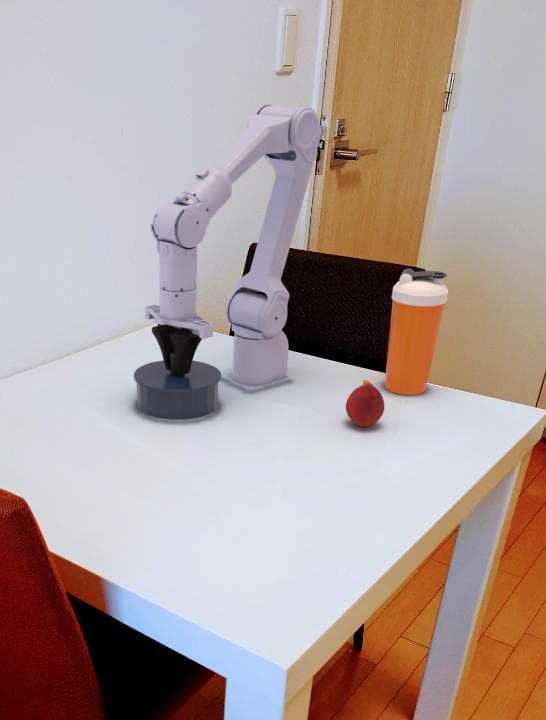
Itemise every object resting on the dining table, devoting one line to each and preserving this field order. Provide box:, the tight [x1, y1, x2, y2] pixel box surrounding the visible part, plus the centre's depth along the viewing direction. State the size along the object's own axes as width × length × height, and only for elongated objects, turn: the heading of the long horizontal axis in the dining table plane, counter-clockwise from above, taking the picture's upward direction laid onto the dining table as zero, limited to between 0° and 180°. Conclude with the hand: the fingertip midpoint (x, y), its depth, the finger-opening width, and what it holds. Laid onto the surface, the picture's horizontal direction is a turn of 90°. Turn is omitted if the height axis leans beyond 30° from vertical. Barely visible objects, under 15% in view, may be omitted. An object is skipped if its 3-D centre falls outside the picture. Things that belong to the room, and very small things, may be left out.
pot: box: [136, 383, 219, 421], centre depth 134 cm, size 13×13×5 cm
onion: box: [345, 379, 385, 428], centre depth 126 cm, size 6×6×8 cm
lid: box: [133, 350, 222, 393], centre depth 132 cm, size 14×14×5 cm
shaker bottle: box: [384, 268, 449, 396], centre depth 138 cm, size 9×9×20 cm
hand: (177, 371), depth 132 cm, fingers closed on lid, 2 cm apart
